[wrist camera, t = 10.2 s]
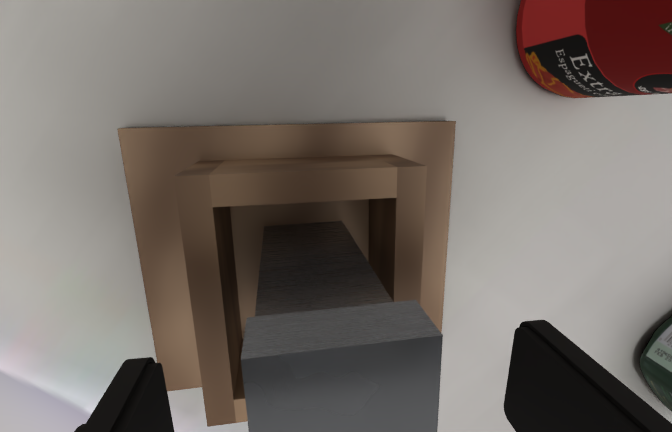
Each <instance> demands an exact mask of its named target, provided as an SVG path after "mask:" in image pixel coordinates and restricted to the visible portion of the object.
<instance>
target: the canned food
mask: <svg viewBox="0 0 672 432" xmlns="http://www.w3.org/2000/svg"><path fill="white" fill-rule="evenodd" d="M516 36H517V47H518V51H519V54H520V58H521V61H522V63H523V65H524V67H525V69H526V71H527V72H528V74H529V75H530V76H531V78H532V79H533V80H534V81H535V82H536V83H538V84H539V85H540V86H541V87H543V88H545V89H547V90H549V91H551V92H554V93H556V94H559V95H561V96H565V97H571V98H587V97H607V96H627V95H647V94H668V93H672V0H521V3H520V7H519V11H518V15H517V26H516Z"/></svg>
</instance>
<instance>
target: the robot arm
mask: <svg viewBox="0 0 672 432" xmlns="http://www.w3.org/2000/svg"><path fill="white" fill-rule="evenodd" d="M504 411H505V415H506V417H507V419H508V421H509V422H510V424H511V425H512V426H513V428H514V429H515V431H516V432H672V424H671V423H670V422H669V421H668V420H666V419H665V418H664V417H663V416H662V415H660V414H659V413H658V412H657V411H655V410H654V409H653V408H652V407H651V406H649V405H648V404H647V403H646V402H645V401H643V400H642V399H641V398H640V397H638V396H637V395H636V394H635V393H634V392H632V391H631V390H630V389H629V388H628V387H626V386H625V385H624V384H623V383H621V382H620V381H619V380H618V379H617V378H615V377H614V376H613V375H612V374H611V373H609V372H608V371H607V370H606V369H604V368H603V367H602V366H601V365H600V364H598V363H597V362H596V361H595V360H594V359H592V358H591V357H590V356H589V355H587V354H586V353H585V352H584V351H583V350H581V349H580V348H579V347H578V346H577V345H575V344H574V343H573V342H572V341H570V340H569V339H568V338H567V337H566V336H564V335H563V334H562V333H561V332H560V331H558V330H557V329H556V328H555V327H553V326H552V325H551V324H550V323H549V322H547V321H545V320H535V321H525V322H522V323H521V324H520V327H519V328H517V329H516V330H515V334H514V340H513V347H512V354H511V361H510V367H509V374H508V381H507V387H506V394H505V401H504ZM74 432H174V428H173V422H172V417H171V411H170V406H169V400H168V394H167V389H166V383H165V378H164V372H163V367H162V364H161V363H155V361H154V359H153V358H151V357H149V358H138V359H128V360H126V361H125V362H124V363H123V364H122V366H121V367H120V369H119V371H118V372H117V374H116V376H115V377H114V379H113V380H112V382H111V384H110V385H109V387H108V389H107V390H106V392H105V393H104V395H103V397H102V398H101V400H100V402H99V403H98V405H97V406H96V408H95V410H94V411H93V413H92V415H91V416H90V418H89V419H88V421H87V423H86V424H82V425H81V426H79V427H78V428H77V429H76V430H75V431H74Z"/></svg>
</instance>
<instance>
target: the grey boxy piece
mask: <svg viewBox="0 0 672 432" xmlns="http://www.w3.org/2000/svg"><path fill="white" fill-rule="evenodd" d="M442 337H443V335H442V334H441V332H440V331H439V330H438V328H437V327H436V326H435V324H434V323H433V322H432V320H431V319H430V318H429V316H428V315H427V314H426V312H425V311H424V310H423V308H422V307H421V306H420V305H419V303H418V302H417V301H416V300H408V301H398V302H393V301H392V299H391V298H390V296H389V294H388V293H387V291H386V290H385V288H384V286H383V285H382V283H381V282H380V280H379V278H378V277H377V275H376V274H375V272H374V270H373V269H372V267H371V266H370V264H369V263H368V261H367V259H366V258H365V256H364V255H363V253H362V251H361V250H360V248H359V247H358V245H357V243H356V242H355V240H354V239H353V237H352V236H351V234H350V232H349V231H348V229H347V228H346V226H345V224H344V223H343V221H329V222H315V223H301V224H287V225H274V226H264V231H263V241H262V251H261V260H260V270H259V280H258V290H257V299H256V309H255V317H248V318H247V319H246V326H245V333H244V340H243V347H242V354H241V366H242V375H243V384H244V392H245V401H246V410H247V419H248V427H249V432H437V426H438V408H439V390H440V372H441V354H442Z"/></svg>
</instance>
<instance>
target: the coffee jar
mask: <svg viewBox="0 0 672 432" xmlns="http://www.w3.org/2000/svg"><path fill="white" fill-rule="evenodd" d="M640 367H641V371H642V373H643V375H644V377H645V379H646V381H647V383H648V384H649V386H650V388H651V389H652V390H653V392H654V393H655V394H656V395H657V397H658V398H659V399H660V400H661V401H662V403H663V404H664V405H665V406H666V407H667V408H669V409H670V410H671V411H672V317H670V318H669V319H668V320H667V321H665V322H664V323H663V324H662V325H661V326H660V327H659V328H658V329H657V330H656V331H655V332H654V334H653V336H652V338H651V340H650V341H649V343H648V345H647V346H646V348H645V350H644V352H643V354H642V356H641V358H640Z"/></svg>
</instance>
